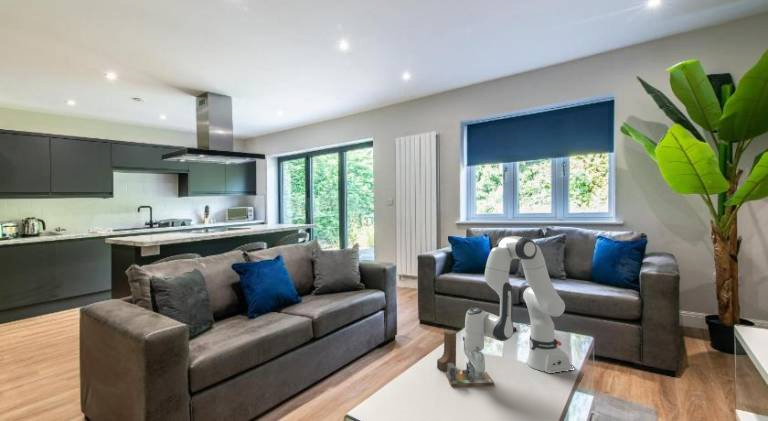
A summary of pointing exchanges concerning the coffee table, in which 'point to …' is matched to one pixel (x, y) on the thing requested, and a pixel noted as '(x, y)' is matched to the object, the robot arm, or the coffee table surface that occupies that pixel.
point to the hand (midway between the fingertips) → (474, 372)
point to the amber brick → (460, 376)
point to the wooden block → (448, 351)
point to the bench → (466, 378)
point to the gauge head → (471, 372)
